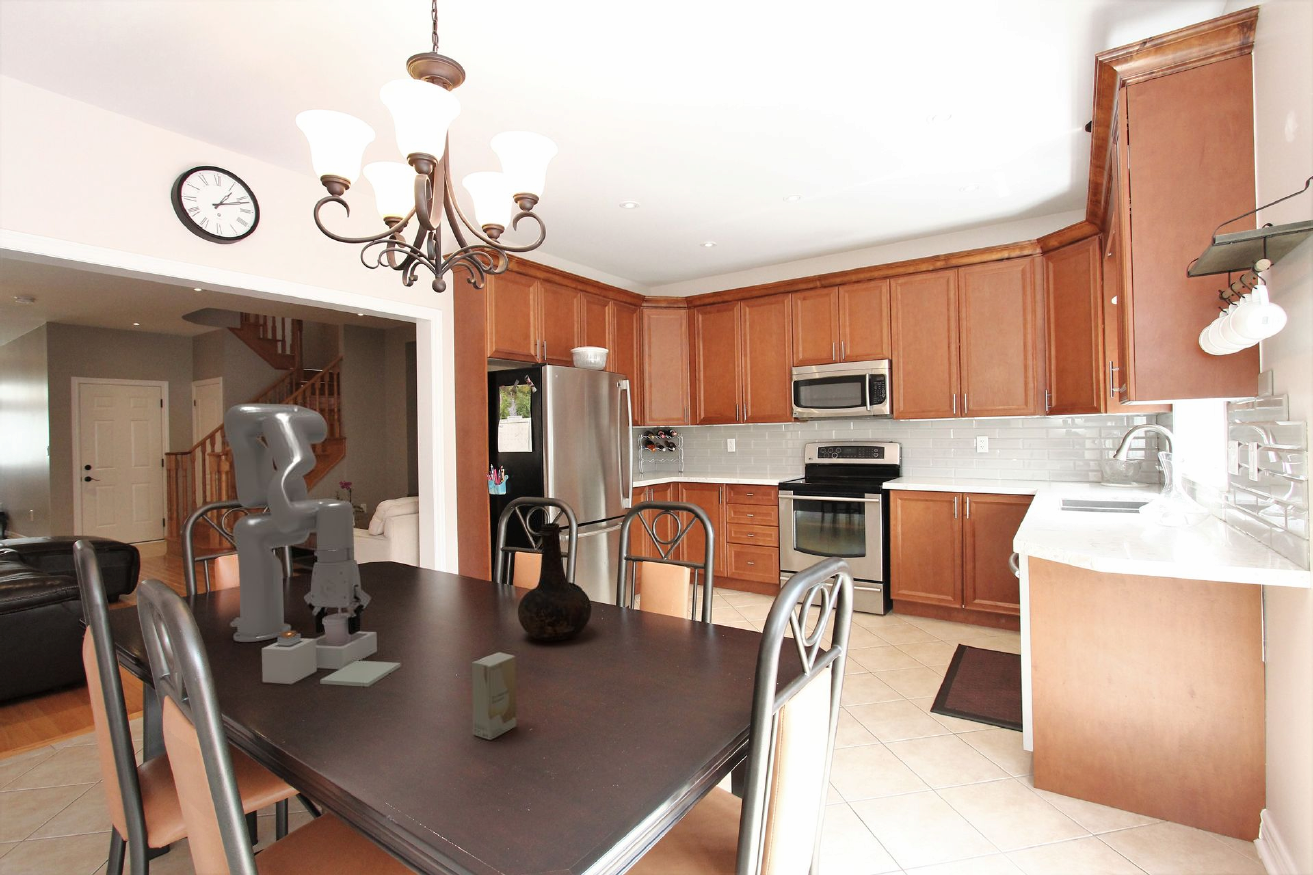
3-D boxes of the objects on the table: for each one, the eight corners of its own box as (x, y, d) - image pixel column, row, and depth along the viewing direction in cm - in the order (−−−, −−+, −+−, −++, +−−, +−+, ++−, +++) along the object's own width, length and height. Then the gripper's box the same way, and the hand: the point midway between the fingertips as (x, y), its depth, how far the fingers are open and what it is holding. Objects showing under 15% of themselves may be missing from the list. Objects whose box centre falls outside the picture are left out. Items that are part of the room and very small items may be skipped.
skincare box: (490, 741, 102) (488, 666, 102) (471, 735, 104) (469, 662, 104) (518, 725, 107) (516, 654, 107) (500, 719, 110) (498, 650, 110)
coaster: (320, 683, 128) (320, 679, 128) (356, 664, 139) (356, 660, 139) (367, 686, 126) (367, 682, 126) (400, 666, 137) (400, 662, 137)
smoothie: (341, 664, 139) (339, 601, 139) (316, 663, 140) (314, 601, 140) (360, 654, 145) (358, 594, 145) (336, 653, 146) (334, 593, 146)
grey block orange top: (278, 665, 131) (277, 634, 131) (289, 660, 134) (288, 630, 134) (290, 666, 131) (289, 635, 131) (301, 661, 134) (300, 630, 134)
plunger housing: (262, 682, 130) (261, 648, 130) (288, 669, 137) (288, 637, 137) (291, 683, 128) (290, 650, 128) (316, 671, 135) (315, 638, 135)
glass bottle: (606, 633, 156) (603, 521, 156) (550, 653, 143) (547, 531, 143) (559, 620, 168) (556, 517, 168) (503, 638, 154) (500, 525, 154)
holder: (298, 666, 138) (297, 646, 138) (334, 649, 149) (334, 630, 149) (343, 669, 136) (342, 648, 136) (376, 651, 147) (376, 632, 147)
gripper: (290, 558, 141) (292, 635, 141) (358, 559, 137) (360, 638, 137) (315, 551, 148) (317, 625, 148) (380, 552, 144) (382, 628, 145)
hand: (338, 631), depth 143 cm, fingers open, 7 cm apart
